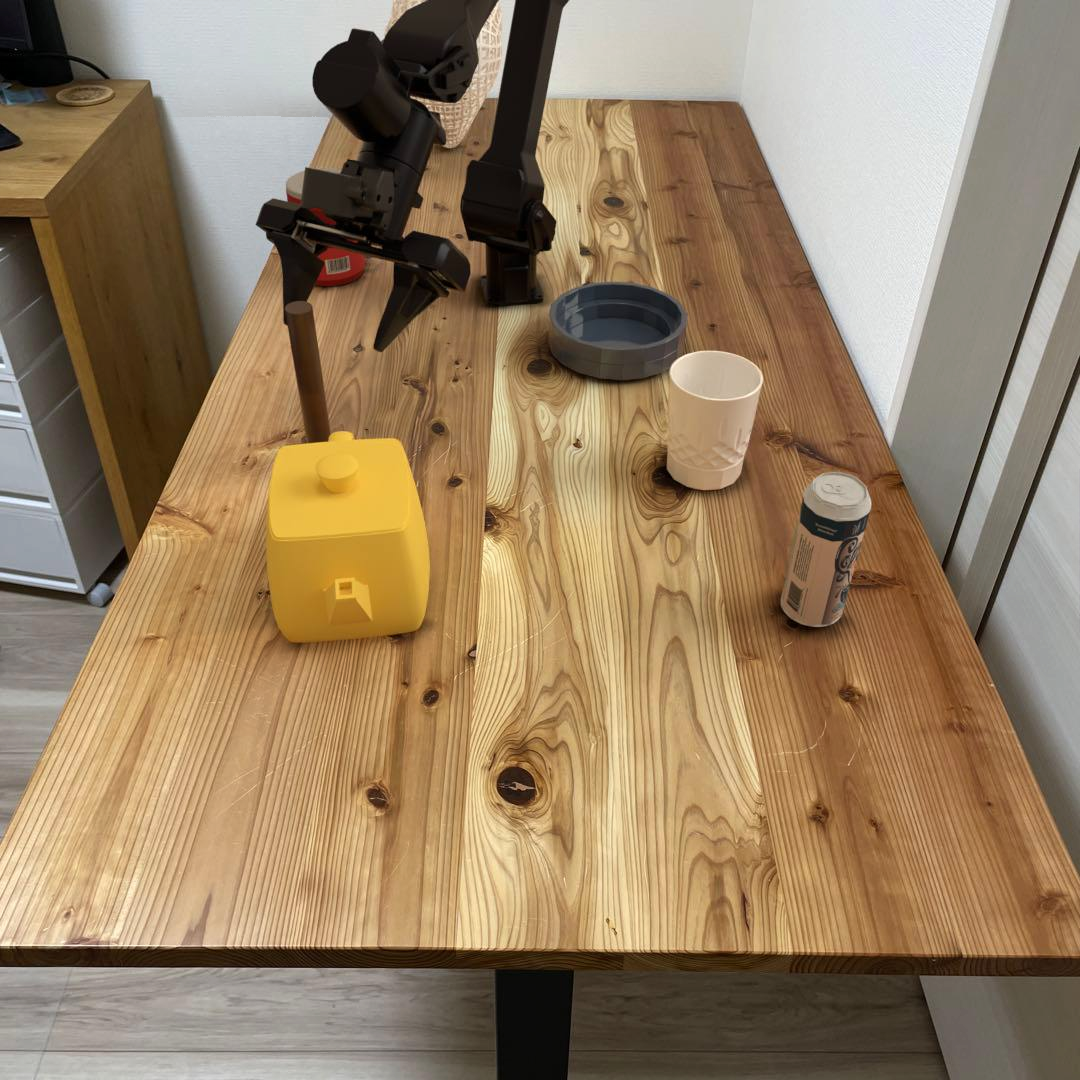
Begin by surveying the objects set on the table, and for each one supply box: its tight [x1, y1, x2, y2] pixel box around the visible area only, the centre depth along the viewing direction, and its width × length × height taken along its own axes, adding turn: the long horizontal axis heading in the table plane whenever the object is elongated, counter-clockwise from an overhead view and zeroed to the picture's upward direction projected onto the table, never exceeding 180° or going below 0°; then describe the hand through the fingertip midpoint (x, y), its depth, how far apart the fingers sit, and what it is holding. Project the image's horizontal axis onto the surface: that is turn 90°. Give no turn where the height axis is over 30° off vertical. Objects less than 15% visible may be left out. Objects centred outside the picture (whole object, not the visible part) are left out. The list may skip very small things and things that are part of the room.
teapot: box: [265, 430, 431, 644], centre depth 81 cm, size 20×12×12 cm, turn 8°
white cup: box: [665, 350, 764, 491], centre depth 94 cm, size 8×8×10 cm
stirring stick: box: [285, 301, 332, 444], centre depth 92 cm, size 4×4×16 cm
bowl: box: [547, 281, 688, 381], centre depth 112 cm, size 14×14×4 cm
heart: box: [383, 0, 503, 149], centre depth 148 cm, size 28×16×22 cm, turn 2°
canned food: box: [285, 167, 366, 287], centre depth 122 cm, size 8×8×11 cm
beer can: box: [780, 471, 873, 628], centre depth 79 cm, size 5×5×12 cm
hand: (331, 338), depth 92 cm, fingers open, 9 cm apart
